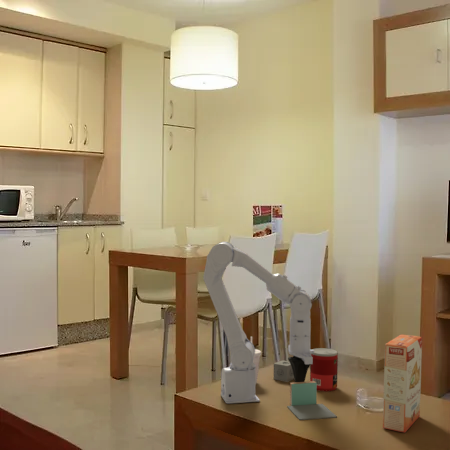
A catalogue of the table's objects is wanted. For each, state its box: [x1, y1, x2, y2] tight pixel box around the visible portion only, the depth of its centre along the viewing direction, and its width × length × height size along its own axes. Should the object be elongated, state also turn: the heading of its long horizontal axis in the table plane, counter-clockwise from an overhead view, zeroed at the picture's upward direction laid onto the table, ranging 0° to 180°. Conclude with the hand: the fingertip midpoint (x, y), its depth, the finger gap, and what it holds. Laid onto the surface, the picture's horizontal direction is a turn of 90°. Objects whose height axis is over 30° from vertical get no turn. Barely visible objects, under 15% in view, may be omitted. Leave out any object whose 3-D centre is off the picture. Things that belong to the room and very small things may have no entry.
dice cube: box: [273, 359, 294, 383], centre depth 187 cm, size 5×5×5 cm
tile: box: [289, 380, 318, 406], centre depth 163 cm, size 7×2×6 cm, turn 102°
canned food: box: [309, 347, 339, 392], centre depth 178 cm, size 8×8×11 cm
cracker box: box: [382, 334, 423, 434], centre depth 149 cm, size 14×6×21 cm, turn 148°
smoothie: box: [250, 336, 262, 385], centre depth 182 cm, size 6×6×14 cm
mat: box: [286, 403, 338, 421], centre depth 157 cm, size 10×10×1 cm
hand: (299, 383), depth 166 cm, fingers closed
